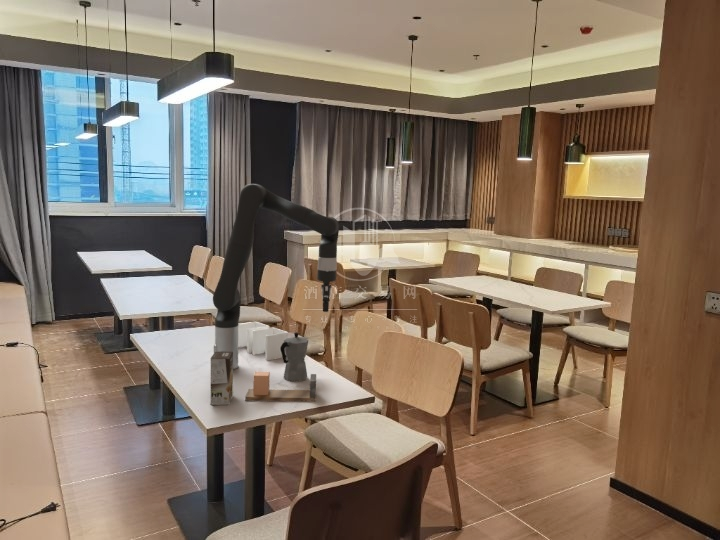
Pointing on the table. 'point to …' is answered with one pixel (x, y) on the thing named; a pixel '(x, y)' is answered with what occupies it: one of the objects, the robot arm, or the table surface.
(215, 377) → the coffee box
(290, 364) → the coffeepot
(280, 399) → the rail
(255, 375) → the tan tall block
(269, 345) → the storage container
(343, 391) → the table surface
